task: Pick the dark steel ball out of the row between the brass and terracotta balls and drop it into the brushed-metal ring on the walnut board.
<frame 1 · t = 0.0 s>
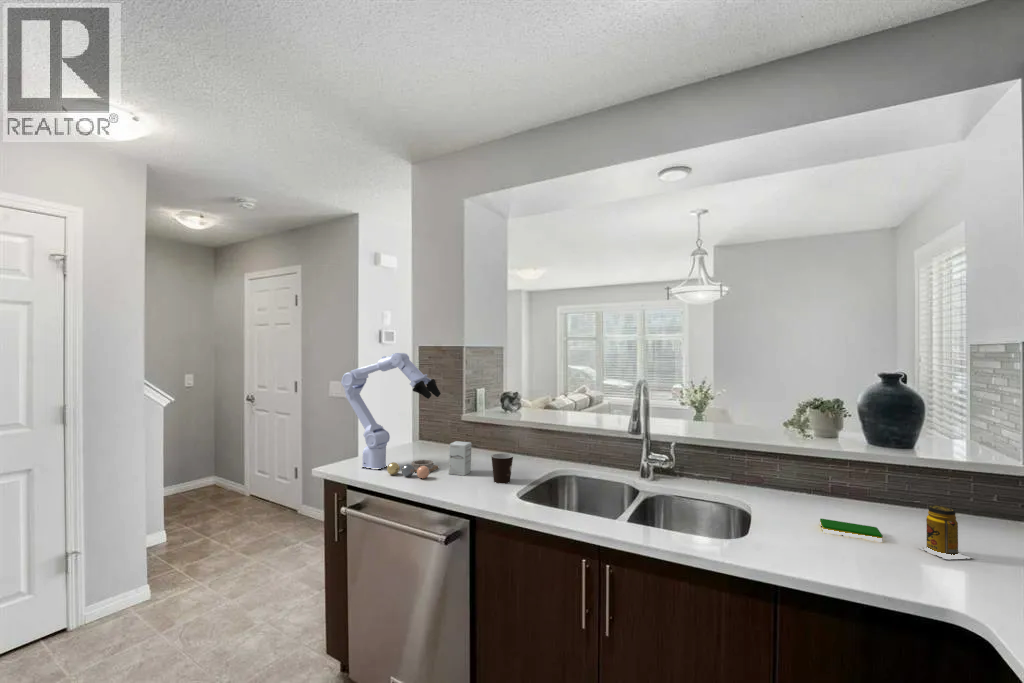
hand: (434, 396, 189), 32 cm above the worktop, tool tilted 50°, fingers open, 7 cm apart
condiment: (945, 555, 119), on the worktop
dish sponge: (849, 535, 132), on the worktop
steel ball: (408, 470, 184), point 2 cm above the worktop
supplement box: (460, 473, 191), on the worktop
brass ball: (393, 468, 187), point 2 cm above the worktop
terracotta ball: (423, 472, 182), point 2 cm above the worktop
coffee mug: (504, 480, 181), on the worktop
race board: (422, 469, 195), on the worktop
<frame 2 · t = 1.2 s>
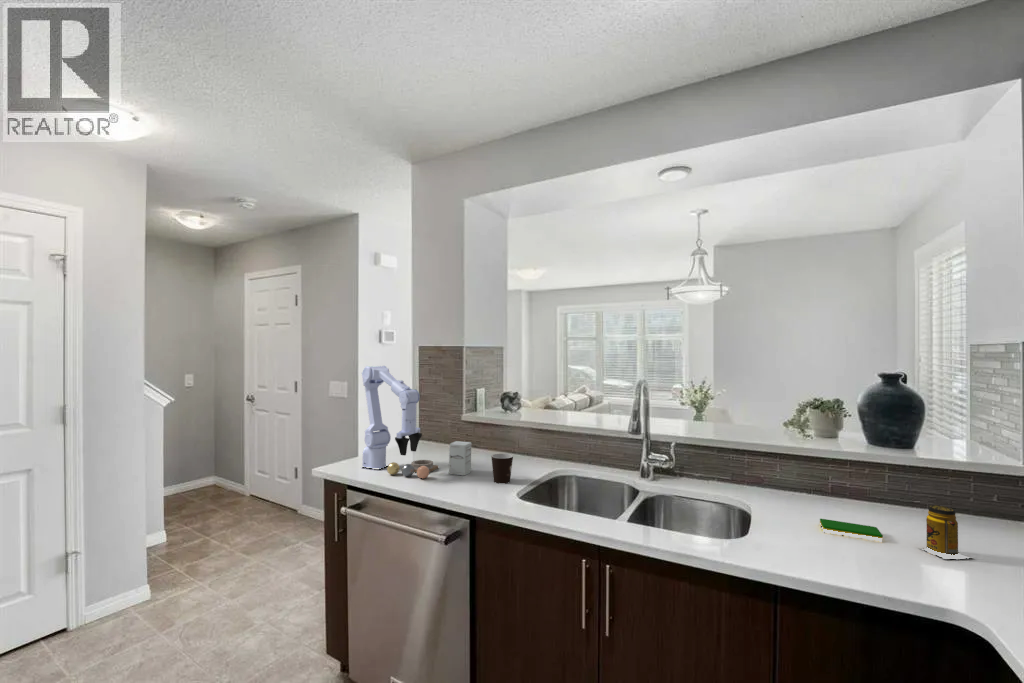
hand: (408, 453, 184), 9 cm above the worktop, tool pointing down, fingers open, 7 cm apart
nothing on the worktop moved.
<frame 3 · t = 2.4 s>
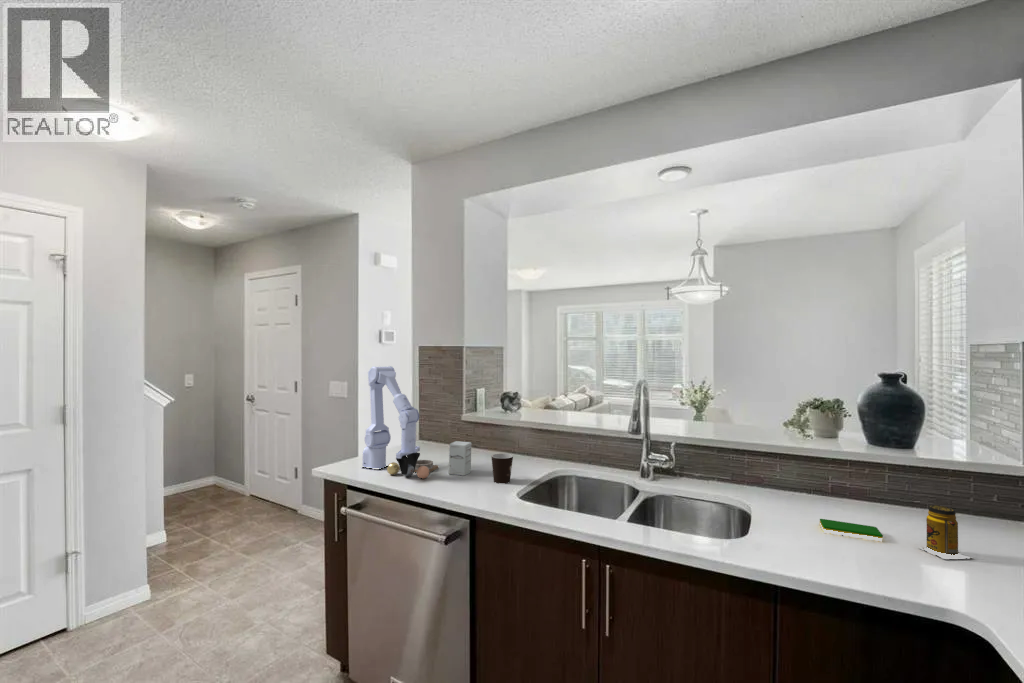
hand: (407, 472, 184), 2 cm above the worktop, tool pointing down, fingers closed on steel ball, 5 cm apart
steel ball: (408, 470, 184), point 2 cm above the worktop, touching gripper
everything else where it was.
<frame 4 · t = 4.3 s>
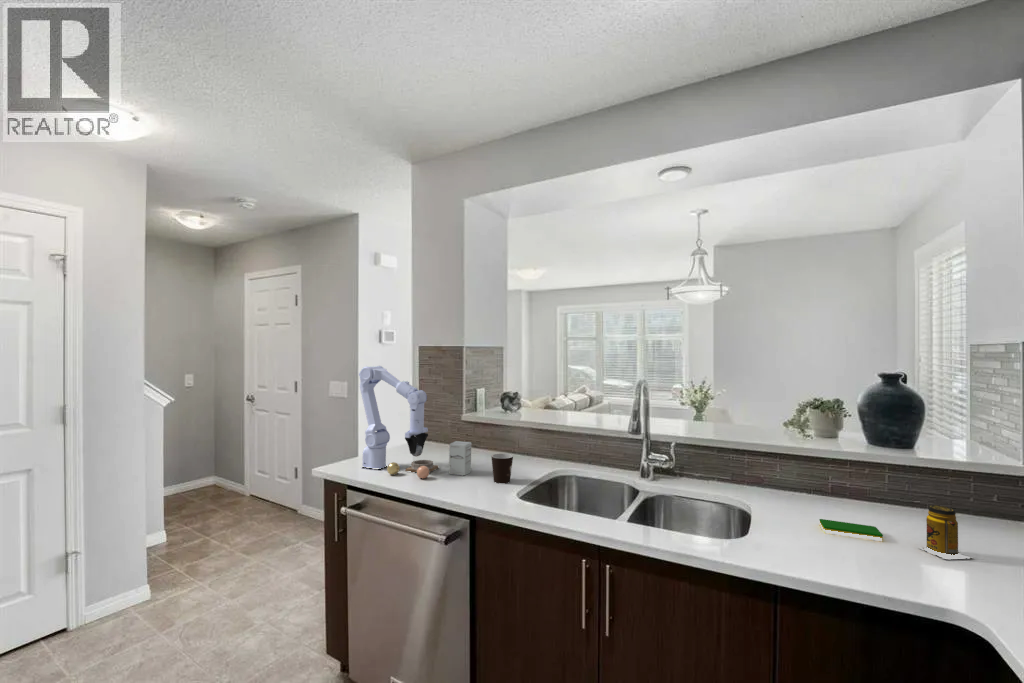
hand: (416, 452, 190), 9 cm above the worktop, tool pointing down, fingers closed on steel ball, 5 cm apart
steel ball: (416, 450, 190), point 9 cm above the worktop, touching gripper
everything else where it was.
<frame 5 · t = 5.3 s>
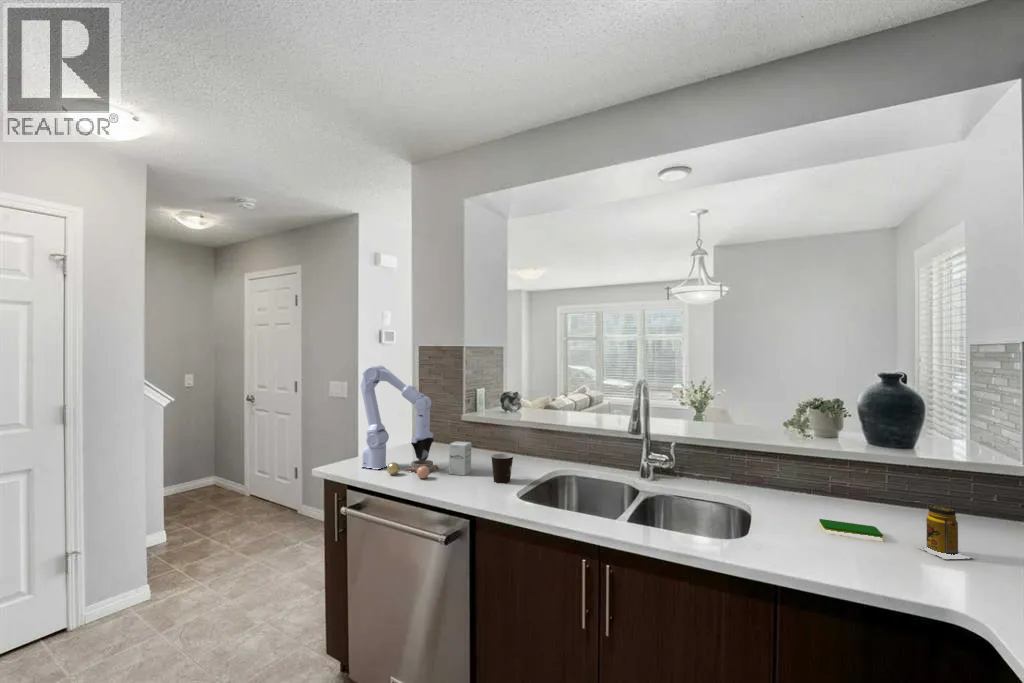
hand: (422, 456, 195), 6 cm above the worktop, tool pointing down, fingers closed on steel ball, 5 cm apart
steel ball: (422, 454, 195), point 6 cm above the worktop, touching gripper
everything else where it was.
when the fingers open (4 cm above the worktop, at t = 6.1 s): steel ball drops 1 cm, resting on race board.
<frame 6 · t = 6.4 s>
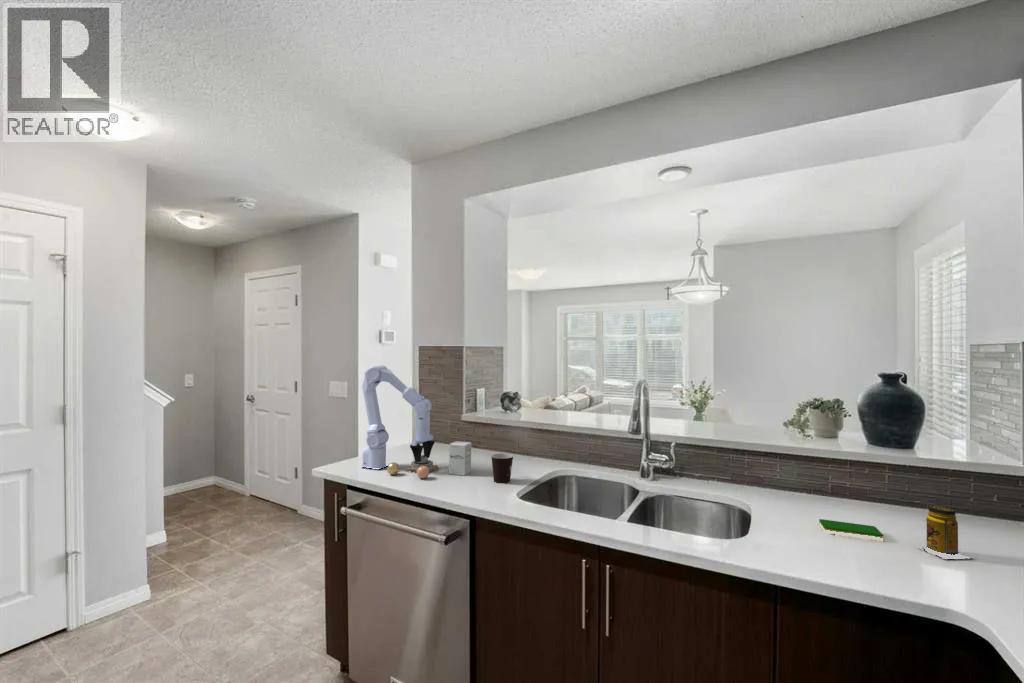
hand: (422, 459, 195), 4 cm above the worktop, tool pointing down, fingers open, 7 cm apart
steel ball: (422, 461, 195), point 4 cm above the worktop, touching race board
everything else where it was.
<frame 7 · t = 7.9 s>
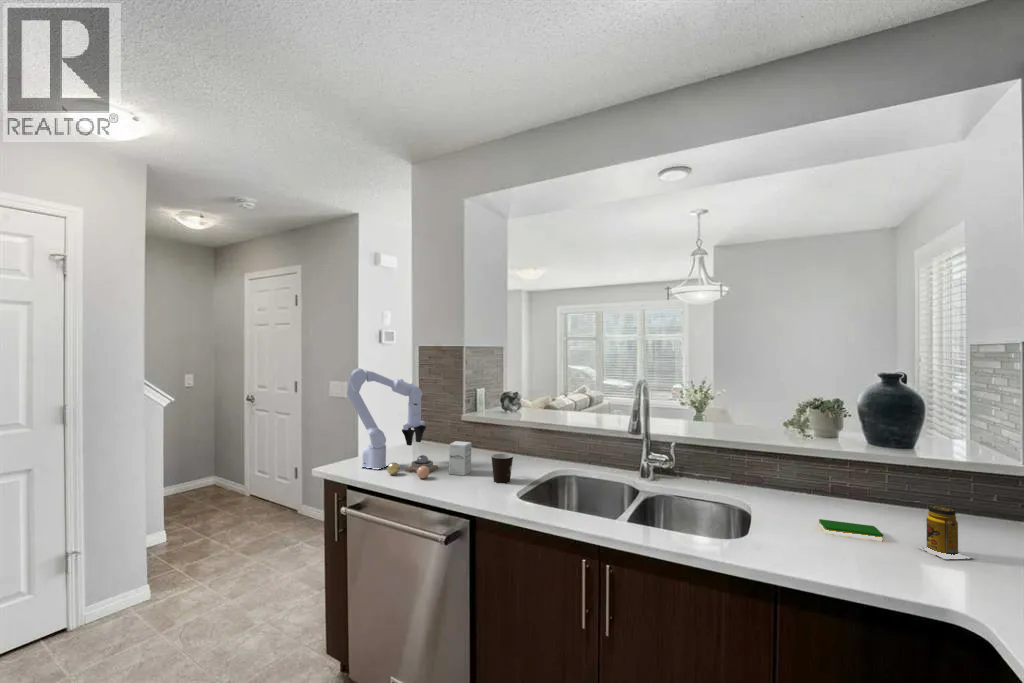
hand: (413, 443, 203), 9 cm above the worktop, tool pointing down, fingers open, 7 cm apart
nothing on the worktop moved.
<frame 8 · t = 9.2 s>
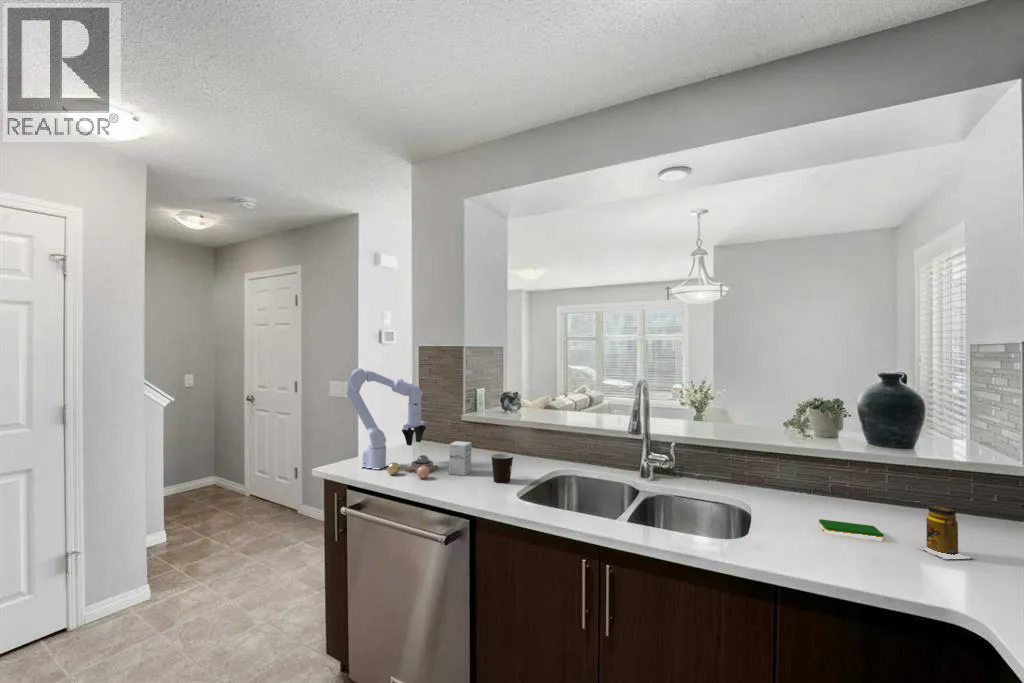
hand: (413, 443, 203), 9 cm above the worktop, tool pointing down, fingers open, 7 cm apart
nothing on the worktop moved.
at the end: steel ball 0.4 cm off-centre on the race board, point 3.7 cm above the race board's base; the gripper is holding nothing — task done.
